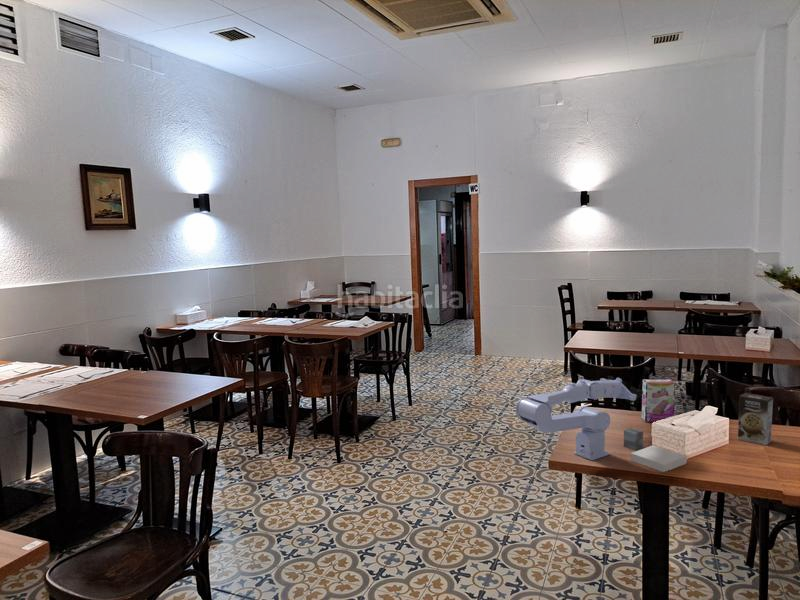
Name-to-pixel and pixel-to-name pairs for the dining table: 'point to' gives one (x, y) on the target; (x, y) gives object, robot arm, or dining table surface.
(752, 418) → the coffee box
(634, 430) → the grey block
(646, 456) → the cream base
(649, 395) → the candy bar box
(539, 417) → the robot arm
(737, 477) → the dining table surface
